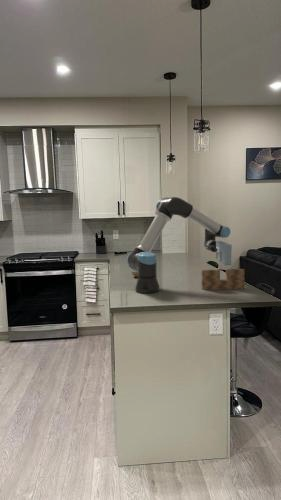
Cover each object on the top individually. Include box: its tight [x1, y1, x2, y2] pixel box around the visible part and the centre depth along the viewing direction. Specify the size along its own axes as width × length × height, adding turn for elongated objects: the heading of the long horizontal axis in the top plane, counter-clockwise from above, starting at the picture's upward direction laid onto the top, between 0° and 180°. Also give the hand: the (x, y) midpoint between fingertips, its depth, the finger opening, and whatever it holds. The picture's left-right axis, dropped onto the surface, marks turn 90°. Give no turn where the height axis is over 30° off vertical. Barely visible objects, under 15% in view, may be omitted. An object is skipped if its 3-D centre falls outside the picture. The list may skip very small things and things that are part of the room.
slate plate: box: [215, 240, 233, 266], centre depth 192 cm, size 24×3×12 cm, turn 0°
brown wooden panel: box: [201, 268, 245, 291], centre depth 194 cm, size 26×3×12 cm, turn 90°
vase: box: [130, 268, 138, 278], centre depth 234 cm, size 11×11×19 cm
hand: (222, 250), depth 195 cm, fingers closed on slate plate, 3 cm apart
